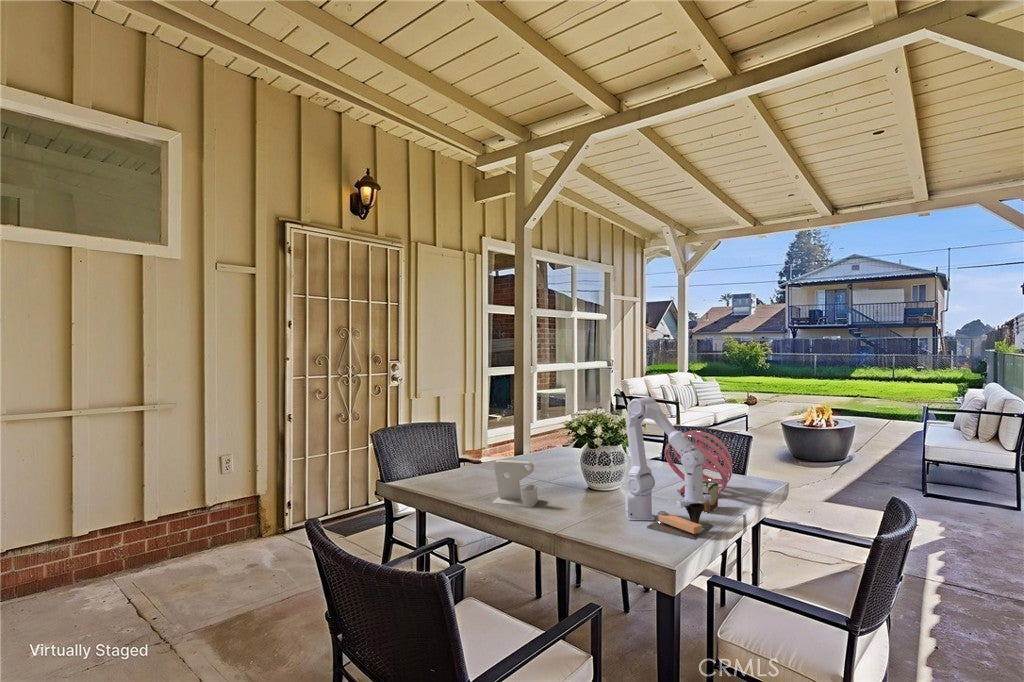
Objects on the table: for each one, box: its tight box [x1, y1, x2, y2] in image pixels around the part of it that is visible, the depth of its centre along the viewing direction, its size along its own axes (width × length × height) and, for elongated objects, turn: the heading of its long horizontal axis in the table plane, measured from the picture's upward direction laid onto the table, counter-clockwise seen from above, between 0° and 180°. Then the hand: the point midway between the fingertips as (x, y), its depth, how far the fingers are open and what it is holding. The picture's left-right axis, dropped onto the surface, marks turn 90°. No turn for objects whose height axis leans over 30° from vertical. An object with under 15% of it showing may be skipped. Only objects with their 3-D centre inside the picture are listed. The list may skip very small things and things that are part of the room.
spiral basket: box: [664, 430, 733, 495], centre depth 216 cm, size 28×28×27 cm
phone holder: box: [492, 459, 539, 508], centre depth 210 cm, size 17×10×18 cm, turn 71°
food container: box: [701, 480, 720, 514], centre depth 197 cm, size 12×6×10 cm, turn 141°
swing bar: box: [657, 510, 702, 534], centre depth 176 cm, size 17×4×3 cm, turn 31°
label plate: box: [646, 516, 713, 540], centre depth 178 cm, size 16×17×1 cm
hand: (694, 525), depth 173 cm, fingers closed
